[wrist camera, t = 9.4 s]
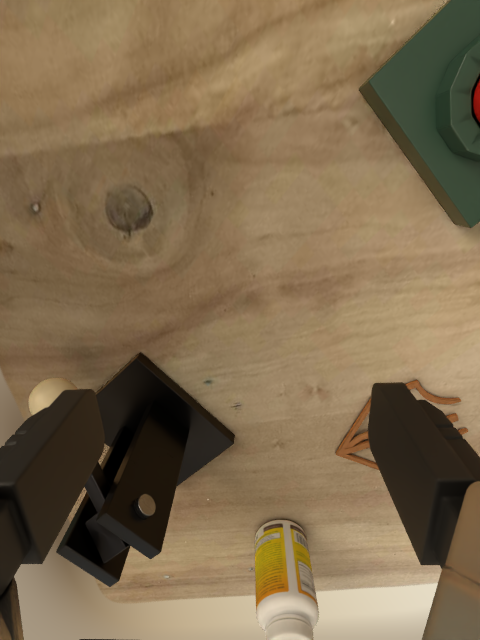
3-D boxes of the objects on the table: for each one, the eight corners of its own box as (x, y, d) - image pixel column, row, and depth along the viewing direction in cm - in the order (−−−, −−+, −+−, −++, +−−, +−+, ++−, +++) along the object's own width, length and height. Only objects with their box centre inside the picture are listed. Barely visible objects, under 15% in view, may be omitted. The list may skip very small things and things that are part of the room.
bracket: (77, 410, 34) (-16, 535, 22) (140, 351, 32) (74, 456, 20) (170, 483, 37) (133, 627, 25) (234, 435, 35) (227, 569, 23)
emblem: (451, 368, 31) (455, 372, 31) (472, 455, 35) (476, 460, 34) (318, 411, 33) (320, 416, 33) (350, 489, 37) (352, 495, 36)
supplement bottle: (248, 547, 40) (248, 661, 31) (262, 511, 38) (267, 622, 29) (296, 557, 41) (311, 673, 31) (313, 522, 39) (334, 636, 29)
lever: (51, 392, 30) (11, 397, 26) (77, 367, 29) (38, 370, 26) (128, 545, 26) (91, 573, 23) (160, 522, 25) (127, 548, 22)
